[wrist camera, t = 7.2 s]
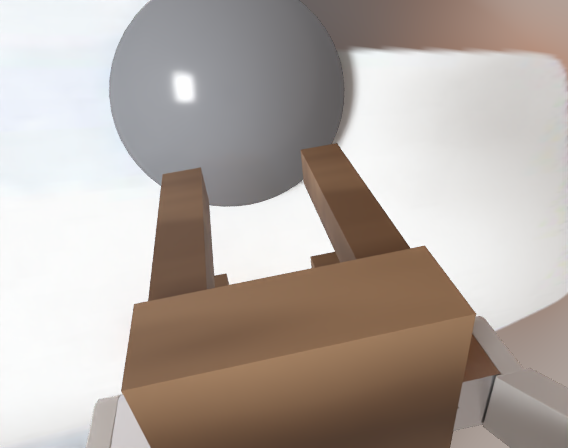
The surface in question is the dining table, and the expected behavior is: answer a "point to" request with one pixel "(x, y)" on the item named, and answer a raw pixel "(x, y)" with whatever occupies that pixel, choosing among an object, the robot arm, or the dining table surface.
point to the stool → (297, 332)
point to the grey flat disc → (226, 93)
